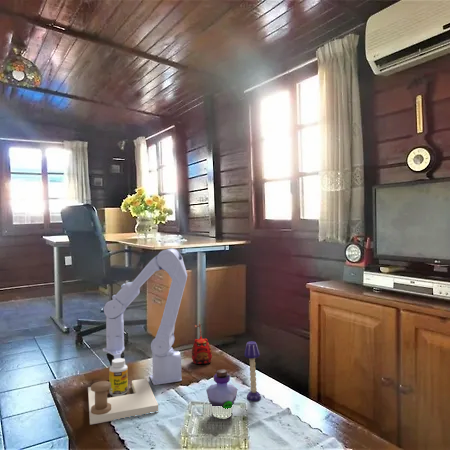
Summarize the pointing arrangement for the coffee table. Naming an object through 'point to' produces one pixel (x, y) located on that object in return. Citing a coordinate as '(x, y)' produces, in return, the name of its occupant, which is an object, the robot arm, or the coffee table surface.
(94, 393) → the notched board
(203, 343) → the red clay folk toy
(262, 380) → the coffee table surface
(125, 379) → the supplement bottle
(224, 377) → the potion bottle
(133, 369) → the coffee table surface
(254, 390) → the toy lamp
